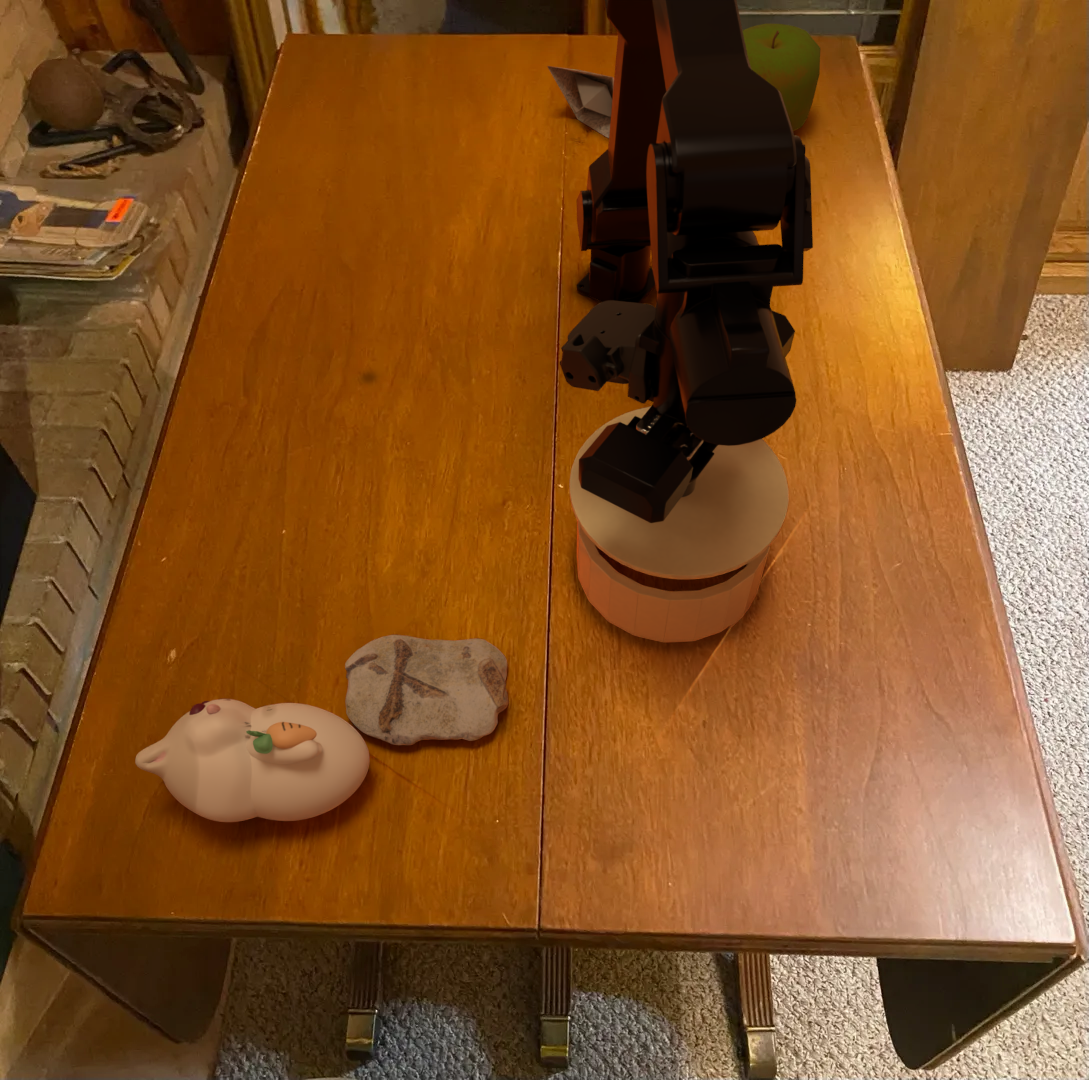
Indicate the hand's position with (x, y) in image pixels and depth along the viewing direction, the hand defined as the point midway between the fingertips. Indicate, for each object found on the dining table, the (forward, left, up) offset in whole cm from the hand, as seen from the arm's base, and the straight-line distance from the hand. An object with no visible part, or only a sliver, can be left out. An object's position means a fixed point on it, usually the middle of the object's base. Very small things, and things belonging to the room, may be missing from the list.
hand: (679, 481), depth 73 cm
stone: (+20, -9, -11) cm, 25 cm away
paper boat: (-49, -39, -11) cm, 63 cm away
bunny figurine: (+31, -14, -11) cm, 36 cm away
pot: (0, 0, -11) cm, 11 cm away
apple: (-60, -22, -11) cm, 65 cm away
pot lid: (0, 0, -1) cm, 1 cm away
